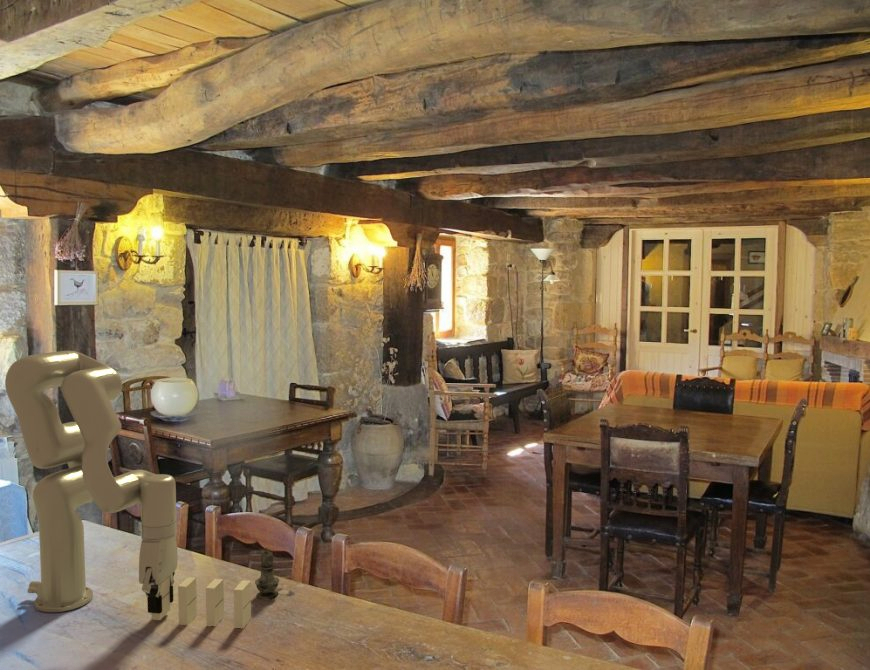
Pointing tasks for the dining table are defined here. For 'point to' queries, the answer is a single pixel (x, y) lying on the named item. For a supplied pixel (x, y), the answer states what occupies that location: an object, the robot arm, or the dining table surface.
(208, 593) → the domino
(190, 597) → the domino
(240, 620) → the domino
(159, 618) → the domino
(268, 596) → the dark chess piece
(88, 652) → the dining table surface
